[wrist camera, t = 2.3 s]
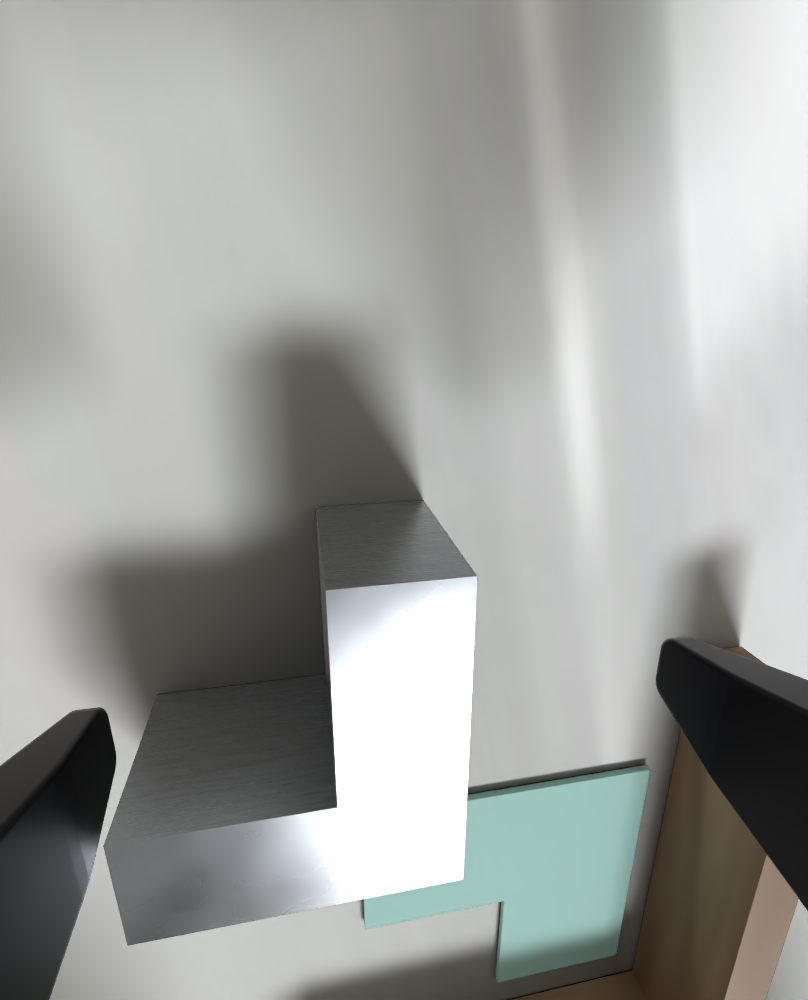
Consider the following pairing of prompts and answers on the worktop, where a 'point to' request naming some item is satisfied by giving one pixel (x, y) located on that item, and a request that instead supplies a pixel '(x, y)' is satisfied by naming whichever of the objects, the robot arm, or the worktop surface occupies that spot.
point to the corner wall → (702, 903)
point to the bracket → (315, 750)
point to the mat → (541, 870)
